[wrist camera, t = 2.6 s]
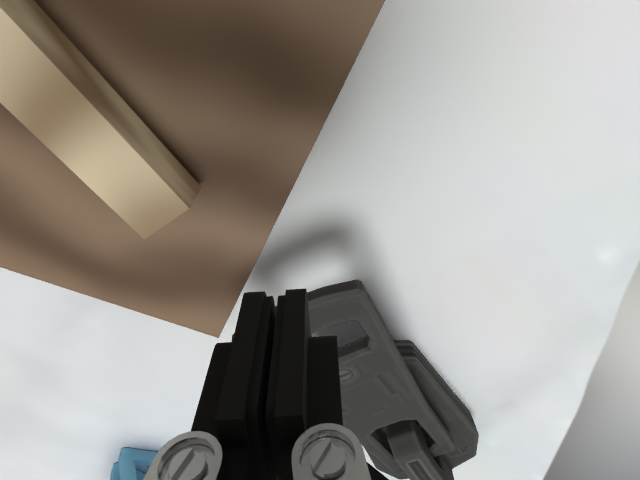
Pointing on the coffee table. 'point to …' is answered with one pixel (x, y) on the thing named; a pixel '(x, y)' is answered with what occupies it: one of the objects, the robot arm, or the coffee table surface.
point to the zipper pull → (393, 393)
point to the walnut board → (183, 145)
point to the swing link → (87, 121)
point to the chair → (131, 464)
